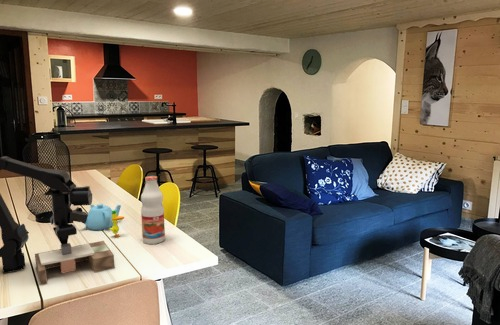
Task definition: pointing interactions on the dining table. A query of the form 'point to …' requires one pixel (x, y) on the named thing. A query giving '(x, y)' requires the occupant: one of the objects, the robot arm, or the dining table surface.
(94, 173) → the dining table surface
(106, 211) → the teapot
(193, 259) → the dining table surface
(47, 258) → the cover
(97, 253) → the brown shallow open box
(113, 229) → the toy figure
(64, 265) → the block
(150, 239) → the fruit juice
